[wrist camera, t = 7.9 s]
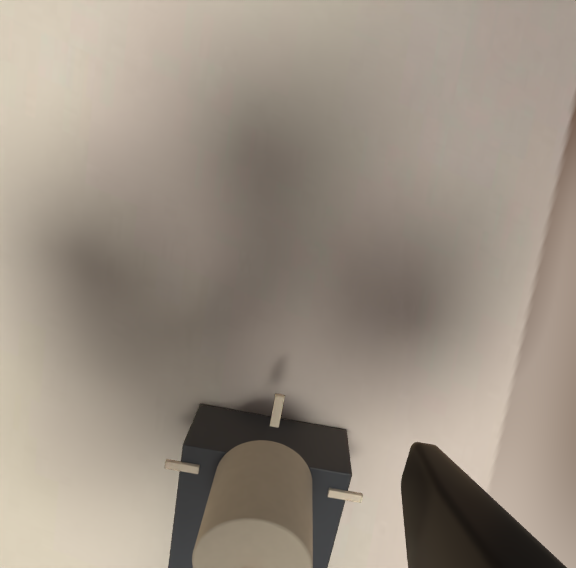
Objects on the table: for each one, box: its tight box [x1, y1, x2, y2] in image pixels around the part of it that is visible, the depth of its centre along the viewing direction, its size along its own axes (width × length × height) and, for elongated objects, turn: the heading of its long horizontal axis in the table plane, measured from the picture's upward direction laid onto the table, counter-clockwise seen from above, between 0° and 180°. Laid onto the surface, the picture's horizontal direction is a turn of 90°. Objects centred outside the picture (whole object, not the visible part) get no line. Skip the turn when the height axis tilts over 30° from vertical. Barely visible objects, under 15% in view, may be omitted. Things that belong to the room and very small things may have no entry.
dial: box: [192, 440, 313, 568], centre depth 17 cm, size 4×4×4 cm
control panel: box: [165, 394, 363, 568], centre depth 22 cm, size 21×8×3 cm, turn 170°
